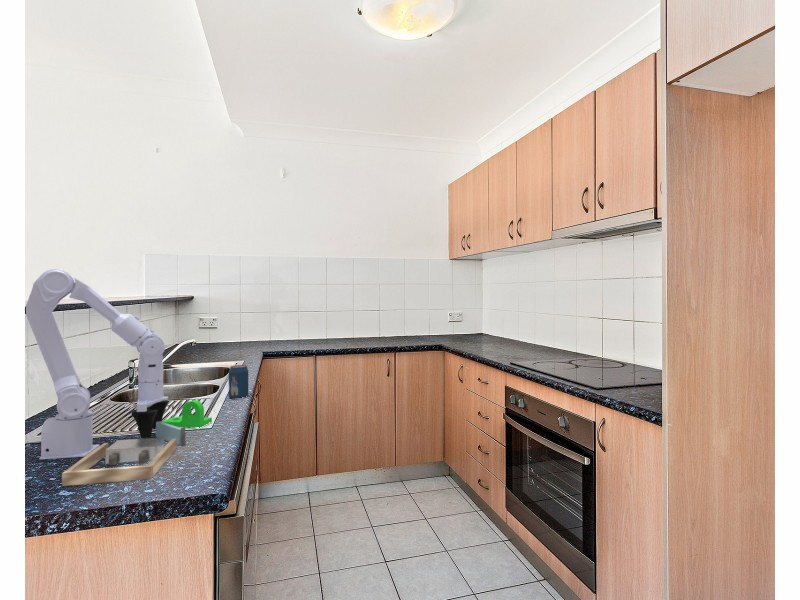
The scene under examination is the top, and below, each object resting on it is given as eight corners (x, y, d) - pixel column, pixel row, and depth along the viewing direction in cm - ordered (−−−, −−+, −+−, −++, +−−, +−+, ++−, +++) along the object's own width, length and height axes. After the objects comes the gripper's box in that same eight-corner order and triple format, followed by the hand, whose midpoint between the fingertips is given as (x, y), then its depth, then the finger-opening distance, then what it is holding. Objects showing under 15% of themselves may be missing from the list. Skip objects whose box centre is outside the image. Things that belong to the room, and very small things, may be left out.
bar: (179, 445, 112) (179, 429, 112) (156, 437, 119) (156, 422, 119) (183, 444, 112) (183, 428, 113) (159, 436, 120) (159, 421, 120)
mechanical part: (211, 424, 132) (211, 397, 132) (199, 430, 126) (199, 401, 126) (174, 422, 134) (174, 396, 134) (161, 428, 128) (161, 400, 128)
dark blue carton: (247, 395, 171) (247, 364, 171) (249, 399, 164) (249, 366, 165) (227, 397, 168) (227, 365, 168) (229, 401, 162) (229, 368, 162)
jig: (61, 486, 87) (62, 463, 87) (108, 450, 108) (108, 431, 108) (159, 478, 91) (159, 456, 91) (185, 445, 112) (186, 427, 112)
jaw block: (105, 465, 99) (105, 449, 99) (117, 455, 106) (117, 440, 106) (154, 461, 102) (154, 446, 102) (163, 451, 108) (163, 437, 108)
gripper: (159, 385, 110) (159, 440, 110) (175, 375, 124) (175, 424, 124) (127, 386, 109) (127, 442, 109) (147, 376, 123) (147, 426, 123)
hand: (150, 433), depth 116 cm, fingers open, 7 cm apart
